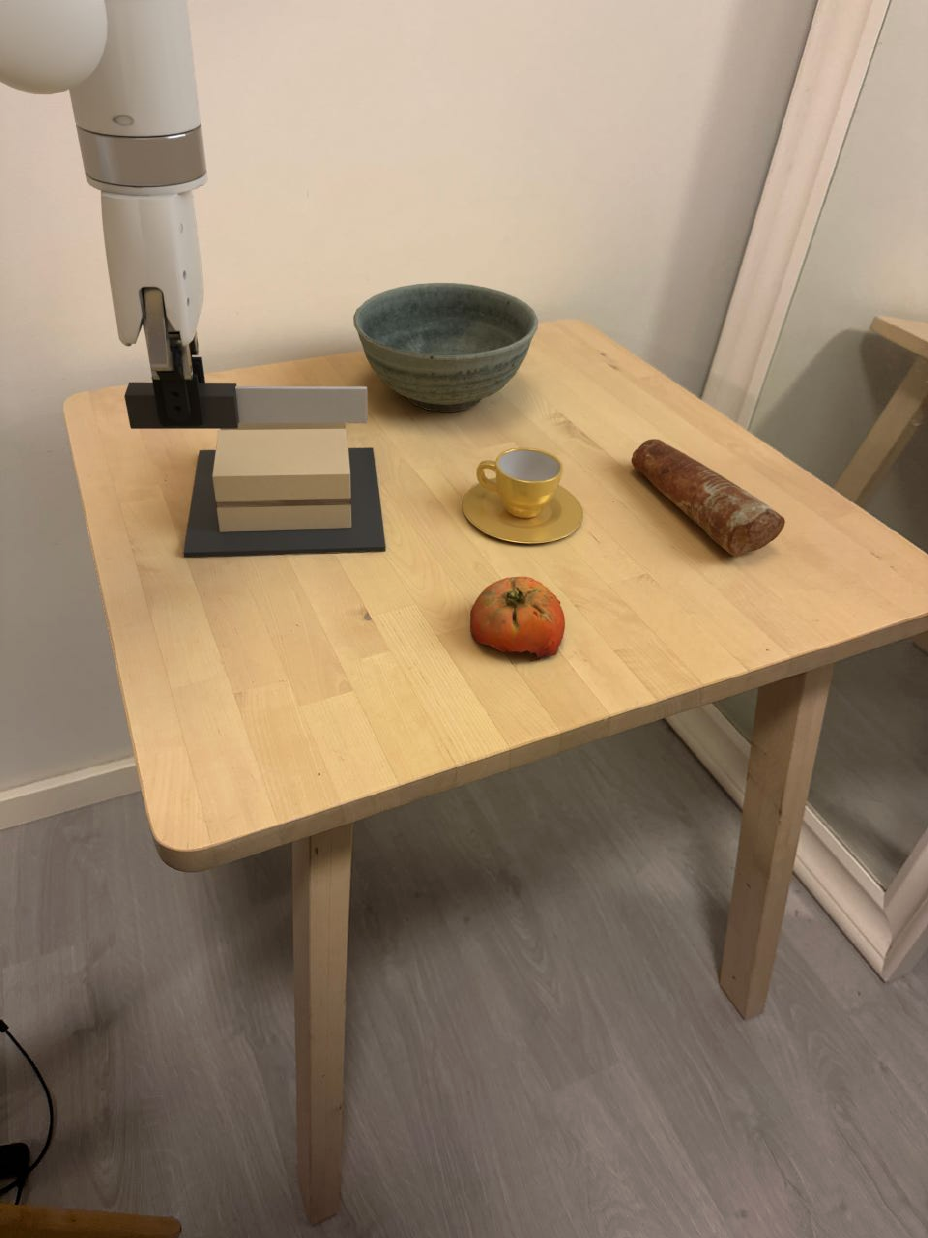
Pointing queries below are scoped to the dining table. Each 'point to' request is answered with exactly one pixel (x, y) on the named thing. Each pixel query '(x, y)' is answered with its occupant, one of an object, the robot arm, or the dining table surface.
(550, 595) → the tomato
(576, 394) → the dining table surface
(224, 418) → the knife
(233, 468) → the cake
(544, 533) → the cup
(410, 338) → the bowl
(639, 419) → the dining table surface
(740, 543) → the salami
